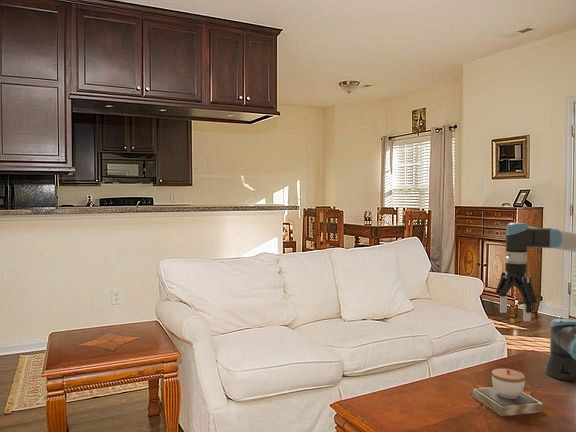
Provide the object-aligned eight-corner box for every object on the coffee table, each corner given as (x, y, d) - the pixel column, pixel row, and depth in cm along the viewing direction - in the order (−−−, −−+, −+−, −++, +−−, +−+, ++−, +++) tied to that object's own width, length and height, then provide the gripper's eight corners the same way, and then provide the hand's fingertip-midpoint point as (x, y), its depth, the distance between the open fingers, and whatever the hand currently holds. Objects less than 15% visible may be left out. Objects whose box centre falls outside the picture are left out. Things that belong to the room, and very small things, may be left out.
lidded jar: (527, 403, 164) (528, 376, 164) (494, 399, 167) (494, 373, 166) (520, 390, 175) (521, 365, 174) (488, 388, 177) (489, 362, 177)
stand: (511, 393, 181) (511, 384, 180) (542, 412, 165) (542, 402, 165) (472, 397, 177) (473, 388, 177) (501, 416, 161) (501, 406, 161)
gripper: (487, 258, 199) (486, 309, 200) (530, 267, 175) (528, 325, 176) (503, 258, 201) (502, 308, 202) (548, 266, 177) (546, 324, 177)
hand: (514, 316), depth 189 cm, fingers open, 13 cm apart
